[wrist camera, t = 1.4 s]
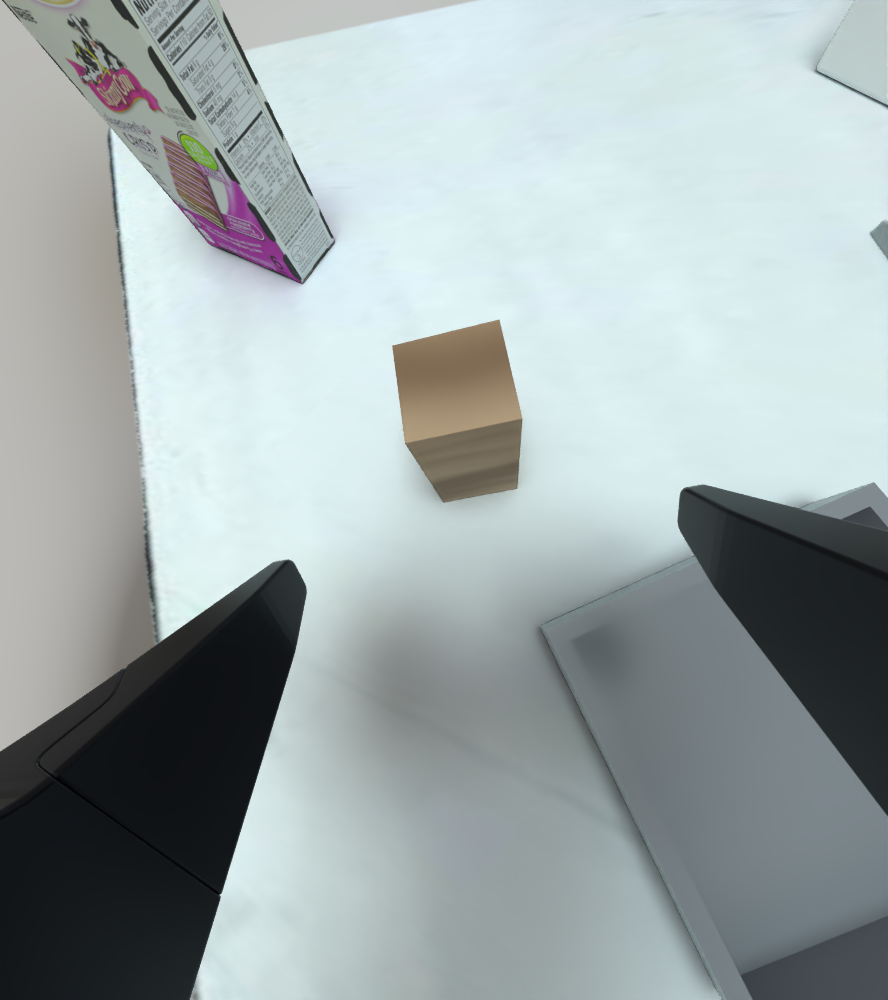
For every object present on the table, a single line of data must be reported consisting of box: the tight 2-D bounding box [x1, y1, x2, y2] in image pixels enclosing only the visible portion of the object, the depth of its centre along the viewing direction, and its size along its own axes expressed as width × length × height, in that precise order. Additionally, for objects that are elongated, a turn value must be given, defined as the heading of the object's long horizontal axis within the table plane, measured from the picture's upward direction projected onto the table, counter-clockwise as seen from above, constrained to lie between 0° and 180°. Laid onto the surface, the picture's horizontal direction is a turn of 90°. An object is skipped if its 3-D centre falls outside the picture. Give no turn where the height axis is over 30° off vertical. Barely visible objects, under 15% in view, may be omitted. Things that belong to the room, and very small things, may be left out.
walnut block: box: [392, 320, 522, 502], centre depth 19 cm, size 4×4×9 cm
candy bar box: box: [2, 0, 334, 283], centre depth 23 cm, size 11×5×16 cm, turn 59°
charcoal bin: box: [540, 483, 888, 1000], centre depth 16 cm, size 16×16×4 cm
